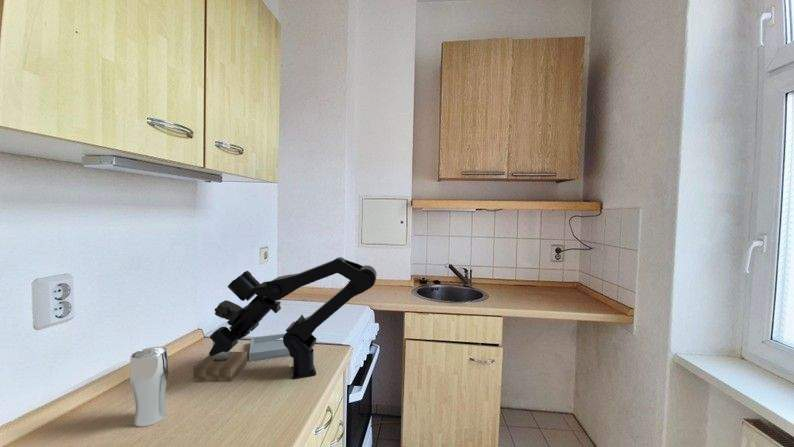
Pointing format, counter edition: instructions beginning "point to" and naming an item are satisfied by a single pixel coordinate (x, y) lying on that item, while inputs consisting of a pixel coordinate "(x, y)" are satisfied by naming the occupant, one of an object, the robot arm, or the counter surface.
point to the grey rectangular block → (221, 355)
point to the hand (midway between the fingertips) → (216, 350)
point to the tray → (267, 347)
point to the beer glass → (149, 384)
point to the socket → (220, 368)
